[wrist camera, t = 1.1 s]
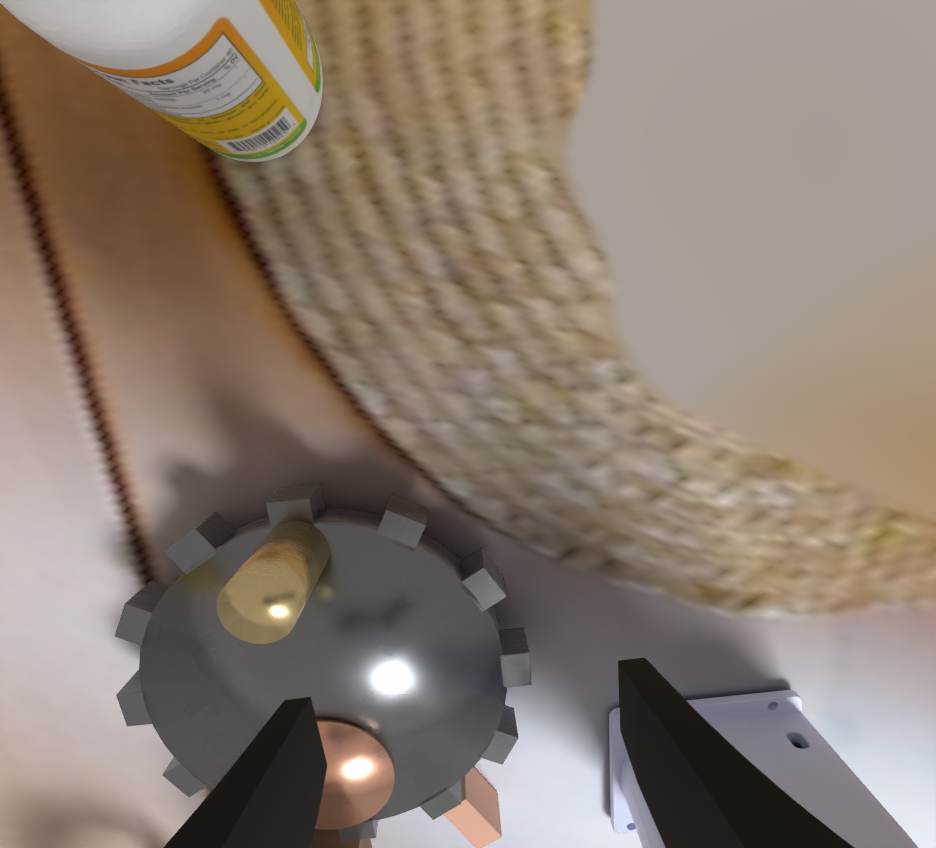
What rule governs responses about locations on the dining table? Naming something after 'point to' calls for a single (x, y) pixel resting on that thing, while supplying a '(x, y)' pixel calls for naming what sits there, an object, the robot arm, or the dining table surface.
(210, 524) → the sprocket
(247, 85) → the supplement bottle
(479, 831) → the peach rectangular prism
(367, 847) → the wooden block
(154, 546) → the dining table surface
